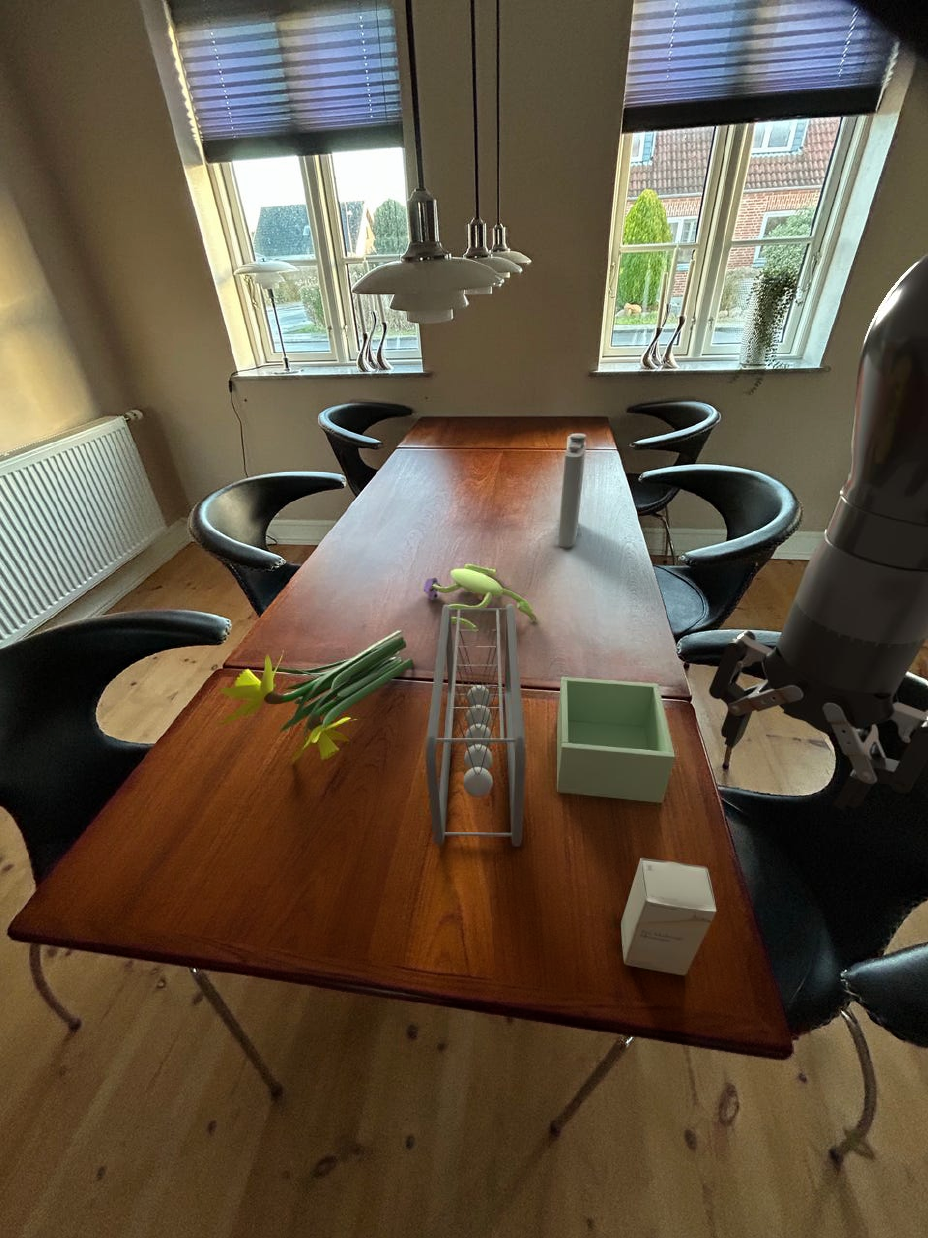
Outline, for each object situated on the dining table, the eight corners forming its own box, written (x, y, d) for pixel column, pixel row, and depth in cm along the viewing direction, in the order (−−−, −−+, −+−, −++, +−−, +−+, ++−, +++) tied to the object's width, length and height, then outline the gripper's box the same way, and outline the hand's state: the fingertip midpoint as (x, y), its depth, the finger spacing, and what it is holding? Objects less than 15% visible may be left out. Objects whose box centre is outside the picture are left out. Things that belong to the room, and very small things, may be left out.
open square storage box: (662, 803, 69) (675, 757, 64) (557, 792, 71) (562, 747, 66) (648, 727, 80) (658, 683, 75) (557, 720, 82) (561, 676, 77)
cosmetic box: (623, 966, 53) (642, 902, 47) (620, 921, 57) (637, 856, 50) (688, 977, 52) (718, 914, 46) (681, 930, 56) (707, 865, 49)
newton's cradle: (448, 688, 89) (443, 598, 79) (511, 688, 88) (513, 597, 78) (434, 854, 64) (424, 753, 54) (521, 855, 64) (526, 754, 54)
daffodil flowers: (451, 682, 91) (308, 793, 62) (389, 700, 99) (236, 807, 69) (412, 592, 90) (247, 661, 60) (352, 618, 98) (180, 690, 68)
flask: (575, 548, 130) (586, 445, 116) (557, 546, 131) (565, 444, 117) (578, 519, 144) (587, 425, 130) (561, 518, 145) (568, 424, 131)
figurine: (453, 651, 97) (452, 626, 94) (413, 583, 118) (411, 561, 115) (543, 629, 102) (545, 605, 99) (490, 568, 123) (490, 546, 120)
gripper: (728, 587, 37) (681, 746, 46) (991, 684, 28) (868, 857, 37) (773, 552, 41) (721, 705, 50) (1014, 627, 32) (898, 796, 42)
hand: (784, 770), depth 44 cm, fingers open, 8 cm apart
